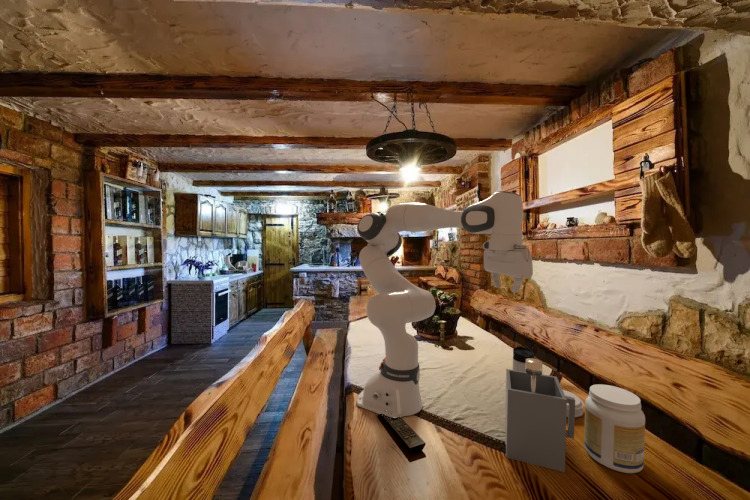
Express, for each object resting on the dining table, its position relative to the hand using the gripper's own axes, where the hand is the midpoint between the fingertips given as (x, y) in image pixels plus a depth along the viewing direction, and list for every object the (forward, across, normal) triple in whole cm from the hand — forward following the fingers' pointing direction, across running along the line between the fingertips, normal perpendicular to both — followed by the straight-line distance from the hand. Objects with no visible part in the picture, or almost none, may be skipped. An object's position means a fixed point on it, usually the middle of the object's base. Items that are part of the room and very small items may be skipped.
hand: (505, 289), depth 92 cm
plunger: (+40, -13, 0) cm, 42 cm away
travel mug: (+41, +5, -10) cm, 43 cm away
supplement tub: (+41, -19, -19) cm, 49 cm away
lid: (+42, +3, -23) cm, 47 cm away
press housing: (+41, -14, -2) cm, 43 cm away
